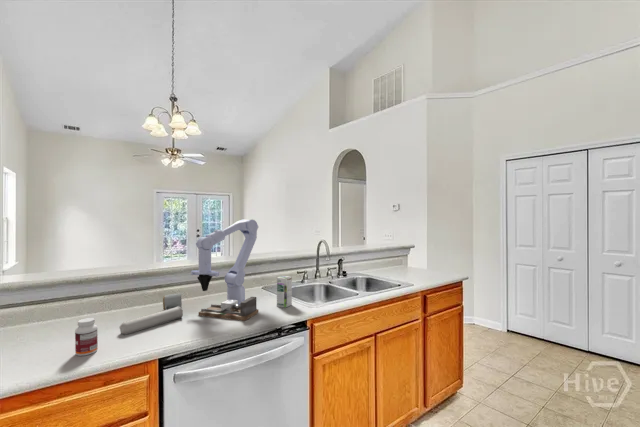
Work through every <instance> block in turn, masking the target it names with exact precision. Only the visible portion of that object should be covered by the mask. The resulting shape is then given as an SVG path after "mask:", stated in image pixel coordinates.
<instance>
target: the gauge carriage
mask: <svg viewBox="0 0 640 427" xmlns="http://www.w3.org/2000/svg"><path fill="white" fill-rule="evenodd" d="M220 305H221V310H222V311H221V312H223V311H232V312H233V311H235V310H237V309H240V305H238V300H229V299H228V300H227V299H226V300H224V301H222V302H221V303H220Z"/></svg>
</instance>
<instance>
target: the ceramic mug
mask: <svg viewBox="0 0 640 427" xmlns="http://www.w3.org/2000/svg"><path fill="white" fill-rule="evenodd" d="M182 305H183V304H182V293H181V292H179V293H171V294H166V295H164V296H163V297H162V308H163V311H164V310H168V309H172V308H175V307H177V306H178V307H181V309H182ZM182 310H183V309H182Z"/></svg>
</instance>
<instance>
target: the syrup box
mask: <svg viewBox="0 0 640 427" xmlns="http://www.w3.org/2000/svg"><path fill="white" fill-rule="evenodd" d="M292 282H293V278H292V276H286V275H280V276H278V277H276V307H280V308H285V309H286V308H288V307H290V306H292V304H293V301H292V300H293V295H292V294H293V283H292Z"/></svg>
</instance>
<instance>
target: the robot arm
mask: <svg viewBox="0 0 640 427" xmlns="http://www.w3.org/2000/svg"><path fill="white" fill-rule="evenodd" d="M258 229H259V225H258V222H257V221H256V220H255V219H253V218H252V219H244V218H242V219H240V220H237V221H235V222H234V223H233V224H231V225H229V226H227V227H225V228H224V229H214V230H213V232H211V233H209V234H205V236H201V237H199V238H198V240H196V241H197V242H196V243H195V245H196V247H197V248H198V270H197V269H196V270H190V276H193V275H195V276H197V277H196V278H197V280H198V281H199V283H200V286H201V290H202V292H207V291H208V289H209V285H210V282H211V280H212V279H213V277H220V271H215V270H212V248H213V247H214V246H215V245H217V244H219V243H220V242H223V241H224V240H225V238H226V237H227V236H229V235H231V234H233V233H235V232H238V231H240V232H241V234H242V235H243V236H244V241H243V243H242V245H241V247H240V250H239V253H238V255H237V257H236V259H235V262H234V264H233V266H232V267H230V268H229V269H228V272H226V274H225V275H224V283H225V284H226V286H227V287H226V293H227V294H226V300H228V299H229V300H238V305H240V302H242V301H244V300H246V288H245V286H244V285H243V284H244V283H245V277H246V271H245V268H246V265H247V263H248V261H249V258H250V255H251V254H252V251H253V248H254V246H255V243H256V241H257V239H258V238H257V237H258V236H257V235H258Z"/></svg>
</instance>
